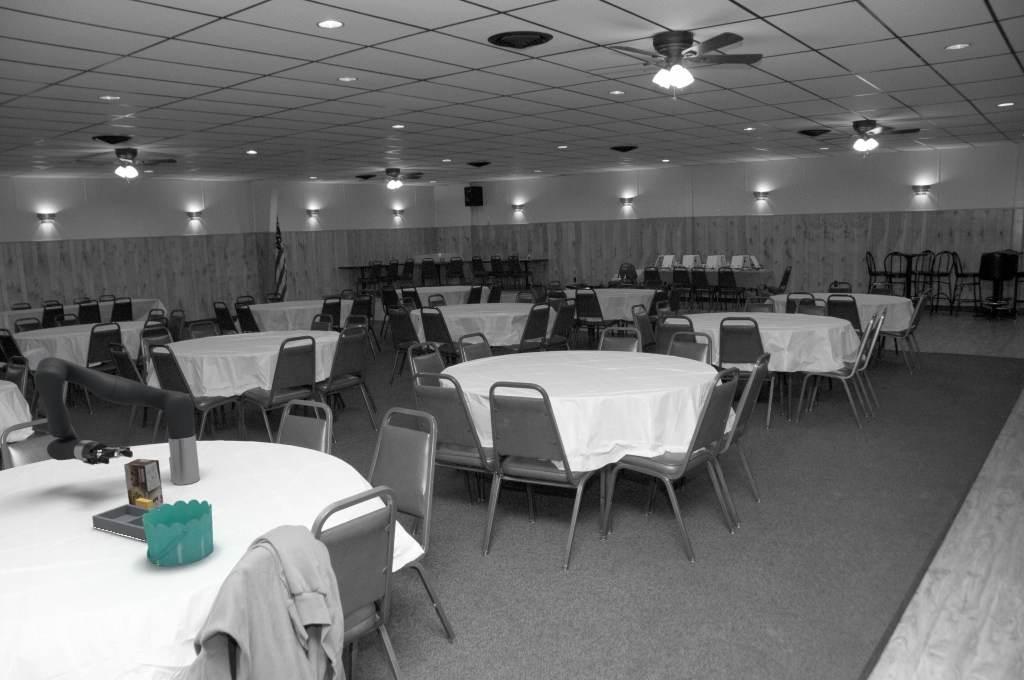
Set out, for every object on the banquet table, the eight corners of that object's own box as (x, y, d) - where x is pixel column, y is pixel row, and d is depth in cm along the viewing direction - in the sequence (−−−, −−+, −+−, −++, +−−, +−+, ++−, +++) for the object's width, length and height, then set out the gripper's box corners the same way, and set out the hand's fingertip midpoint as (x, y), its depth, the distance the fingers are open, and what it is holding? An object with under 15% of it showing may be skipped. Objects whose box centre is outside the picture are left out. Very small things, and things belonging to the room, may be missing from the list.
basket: (213, 562, 217) (208, 517, 215) (141, 572, 212) (136, 527, 210) (218, 536, 235) (214, 495, 233) (152, 546, 230) (147, 504, 228)
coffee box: (164, 506, 264) (159, 459, 262) (150, 512, 258) (145, 465, 256) (143, 503, 267) (138, 458, 265) (128, 510, 261) (123, 463, 259)
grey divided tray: (93, 528, 246) (91, 510, 245) (134, 513, 258) (132, 495, 257) (153, 544, 231) (151, 524, 231) (193, 527, 243) (191, 509, 243)
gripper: (70, 446, 267) (99, 452, 259) (109, 436, 279) (138, 441, 271) (72, 467, 268) (101, 474, 260) (111, 457, 280) (140, 462, 272)
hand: (120, 457), depth 266 cm, fingers open, 8 cm apart
